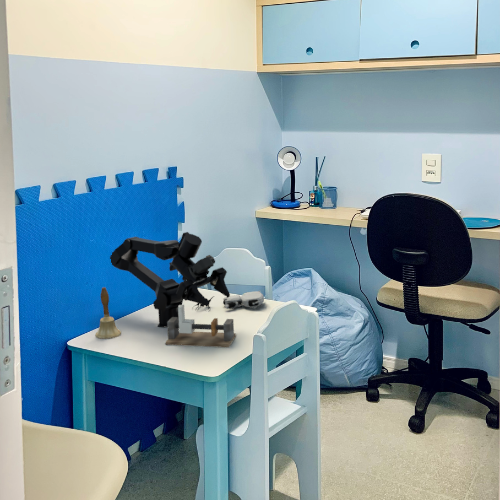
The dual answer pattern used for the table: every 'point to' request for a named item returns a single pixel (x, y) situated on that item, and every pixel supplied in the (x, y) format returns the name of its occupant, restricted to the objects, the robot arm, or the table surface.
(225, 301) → the robot toy
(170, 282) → the robot arm
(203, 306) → the creature
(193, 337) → the rail board
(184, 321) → the white l-bracket
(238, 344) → the table surface
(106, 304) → the hand bell
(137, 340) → the table surface
